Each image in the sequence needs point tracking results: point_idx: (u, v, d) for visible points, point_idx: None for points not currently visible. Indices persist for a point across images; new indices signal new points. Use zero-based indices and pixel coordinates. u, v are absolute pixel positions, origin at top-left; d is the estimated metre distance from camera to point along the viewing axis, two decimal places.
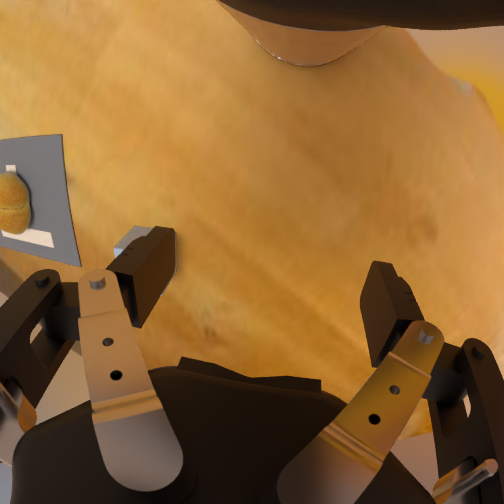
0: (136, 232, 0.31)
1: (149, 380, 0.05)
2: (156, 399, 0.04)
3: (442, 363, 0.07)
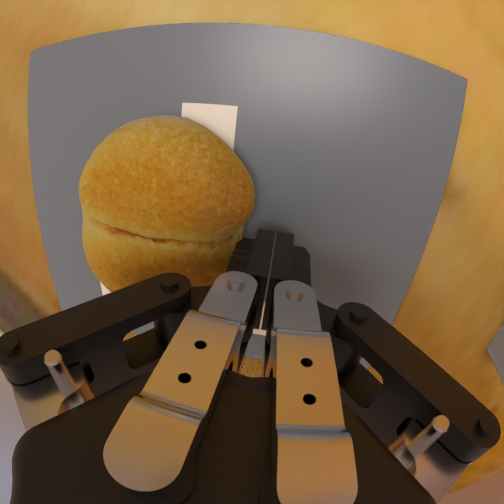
0: None
1: (210, 399, 0.05)
2: (198, 420, 0.04)
3: None
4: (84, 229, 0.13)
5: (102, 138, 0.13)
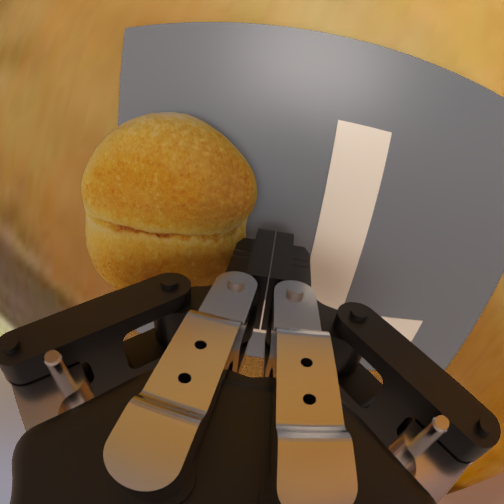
0: None
1: (210, 399, 0.05)
2: (198, 420, 0.04)
3: None
4: (87, 229, 0.13)
5: (233, 144, 0.13)
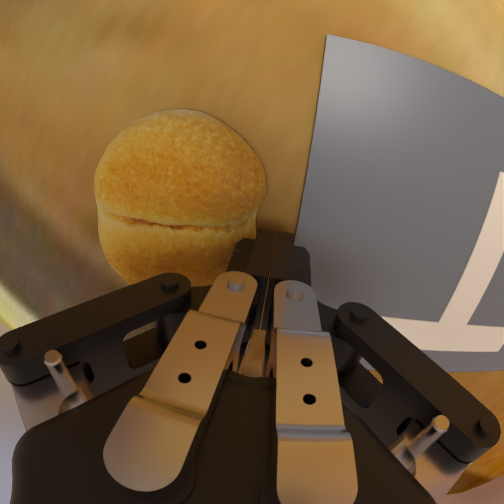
0: None
1: (210, 400, 0.05)
2: (198, 420, 0.04)
3: None
4: (100, 224, 0.13)
5: (427, 182, 0.12)
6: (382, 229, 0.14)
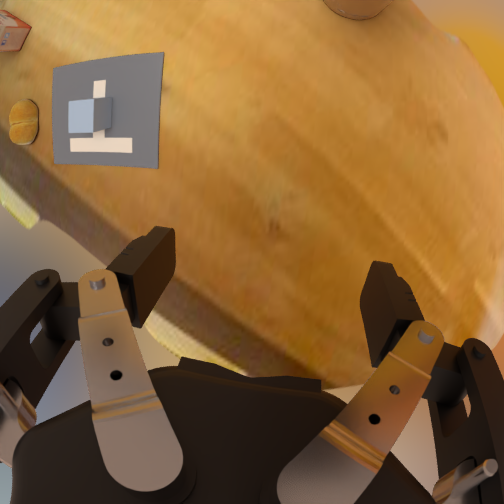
0: None
1: (149, 380, 0.05)
2: (156, 399, 0.04)
3: (442, 363, 0.07)
4: (10, 129, 0.41)
5: (74, 93, 0.39)
6: (67, 110, 0.40)
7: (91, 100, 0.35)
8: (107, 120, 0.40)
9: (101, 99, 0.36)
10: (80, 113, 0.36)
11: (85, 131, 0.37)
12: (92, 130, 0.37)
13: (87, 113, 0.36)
